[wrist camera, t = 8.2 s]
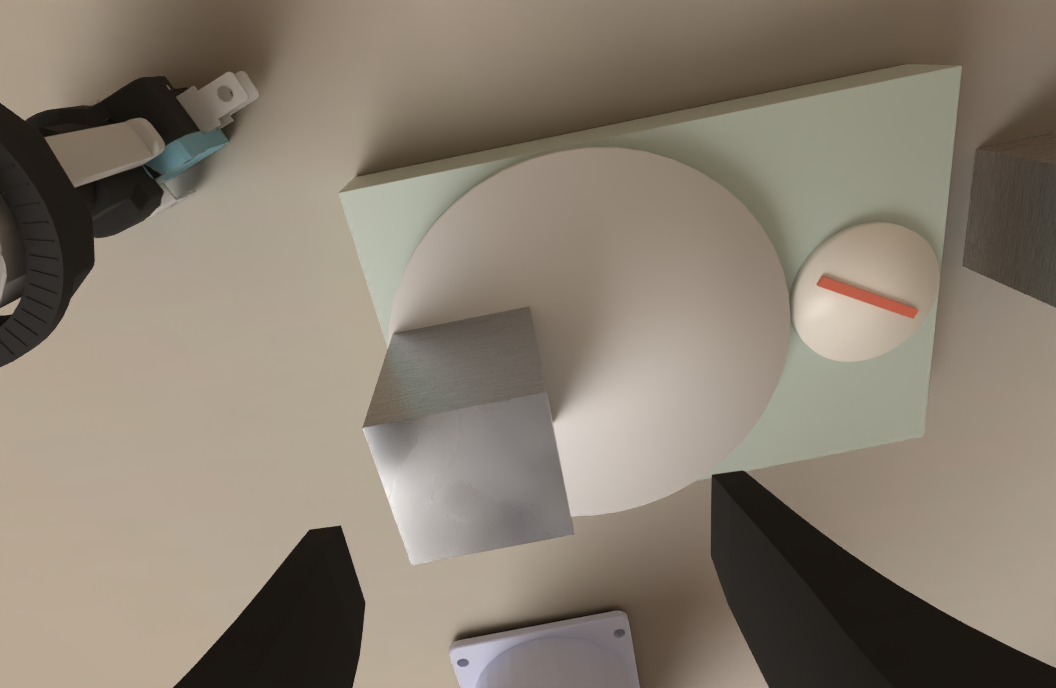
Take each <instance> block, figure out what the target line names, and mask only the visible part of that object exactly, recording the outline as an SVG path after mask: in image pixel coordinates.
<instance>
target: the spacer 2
mask: <svg viewBox="0 0 1056 688" xmlns="http://www.w3.org/2000/svg"><path fill="white" fill-rule="evenodd" d="M963 267H966V268H968V269H970V270H972V271H975V272H977V273H979V274H981V275H984V276H986V277H988V278H990V279H993V280H995V281H997V282H999V283H1002V284H1004V285H1006V286H1008V287H1011V288H1013V289H1015V290H1018V291H1020V292H1022V293H1024V294H1027V295H1029V296H1031V297H1033V298H1036V299H1038V300H1040V301H1042V302H1045V303H1047V304H1049V305H1051V306H1054V307H1056V133H1052V134H1047V135H1042V136H1038V137H1033V138H1028V139H1023V140H1018V141H1013V142H1008V143H1003V144H998V145H994V146H989V147H984V148H979V149H976V154H975V162H974V171H973V180H972V188H971V197H970V206H969V214H968V223H967V231H966V240H965V249H964V257H963Z"/></svg>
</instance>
